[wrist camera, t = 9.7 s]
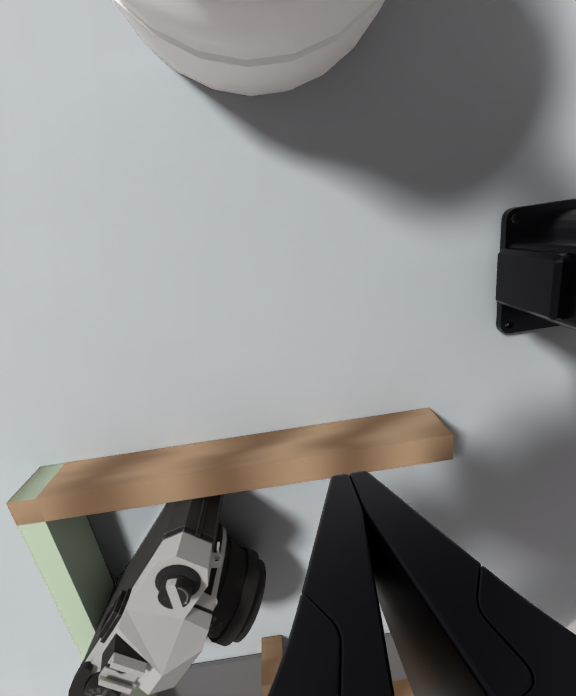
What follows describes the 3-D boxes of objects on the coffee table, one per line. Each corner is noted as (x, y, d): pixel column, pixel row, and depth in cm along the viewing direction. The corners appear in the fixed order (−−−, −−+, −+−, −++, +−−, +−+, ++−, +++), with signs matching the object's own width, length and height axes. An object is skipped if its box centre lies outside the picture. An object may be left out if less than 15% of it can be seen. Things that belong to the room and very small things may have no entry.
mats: (403, 631, 28) (404, 635, 28) (405, 674, 30) (406, 678, 30) (151, 670, 28) (150, 675, 28) (168, 712, 30) (167, 717, 29)
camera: (206, 626, 27) (186, 804, 18) (102, 596, 25) (28, 776, 17) (290, 488, 25) (313, 617, 16) (182, 444, 23) (143, 561, 14)
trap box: (429, 407, 22) (453, 434, 19) (432, 683, 30) (449, 730, 28) (40, 466, 22) (6, 503, 19) (152, 727, 30) (140, 780, 27)
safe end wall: (65, 463, 22) (35, 498, 19) (170, 724, 30) (160, 776, 27) (40, 466, 22) (6, 503, 19) (152, 727, 30) (140, 780, 27)
